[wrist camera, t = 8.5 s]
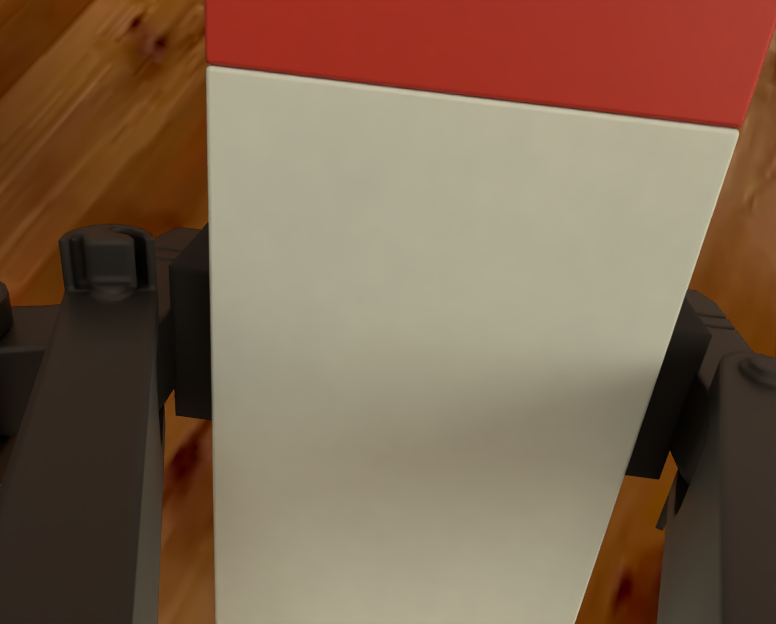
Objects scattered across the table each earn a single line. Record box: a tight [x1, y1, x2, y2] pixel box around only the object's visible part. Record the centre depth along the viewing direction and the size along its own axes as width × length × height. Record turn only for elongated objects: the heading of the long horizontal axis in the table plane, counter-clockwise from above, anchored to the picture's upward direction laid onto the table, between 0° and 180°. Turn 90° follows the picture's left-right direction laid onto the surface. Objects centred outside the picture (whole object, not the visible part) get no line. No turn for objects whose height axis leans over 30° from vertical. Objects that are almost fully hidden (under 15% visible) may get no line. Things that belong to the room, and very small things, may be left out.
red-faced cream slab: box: [205, 0, 776, 624], centre depth 13 cm, size 13×6×13 cm, turn 173°
